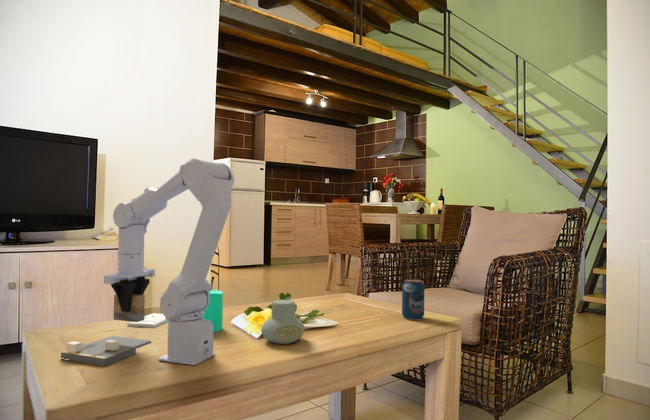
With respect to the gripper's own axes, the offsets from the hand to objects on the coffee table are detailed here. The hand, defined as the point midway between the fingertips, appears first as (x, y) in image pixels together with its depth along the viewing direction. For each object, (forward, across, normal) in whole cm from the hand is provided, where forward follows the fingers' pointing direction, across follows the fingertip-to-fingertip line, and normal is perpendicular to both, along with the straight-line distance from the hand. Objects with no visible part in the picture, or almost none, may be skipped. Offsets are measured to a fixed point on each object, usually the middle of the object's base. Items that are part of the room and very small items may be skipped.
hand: (130, 310), depth 106 cm
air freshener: (+9, -18, +32) cm, 38 cm away
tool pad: (+9, -2, -4) cm, 9 cm away
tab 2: (+7, +8, +2) cm, 10 cm away
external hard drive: (+9, -22, -12) cm, 26 cm away
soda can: (+9, -56, +60) cm, 83 cm away
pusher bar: (+2, 0, 0) cm, 2 cm away
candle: (+9, -21, +9) cm, 24 cm away
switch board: (+9, +8, 0) cm, 12 cm away
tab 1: (+7, +12, -4) cm, 14 cm away
